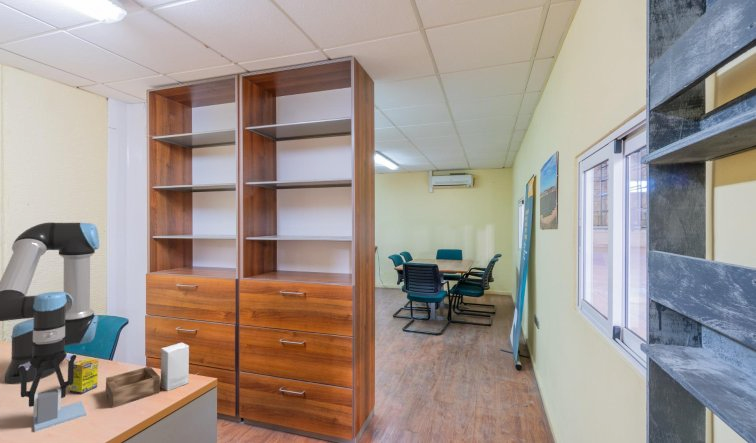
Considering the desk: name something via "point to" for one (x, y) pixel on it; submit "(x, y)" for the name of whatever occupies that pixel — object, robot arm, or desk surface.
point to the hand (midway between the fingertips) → (47, 411)
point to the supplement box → (84, 376)
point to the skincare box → (174, 366)
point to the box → (132, 386)
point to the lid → (55, 411)
